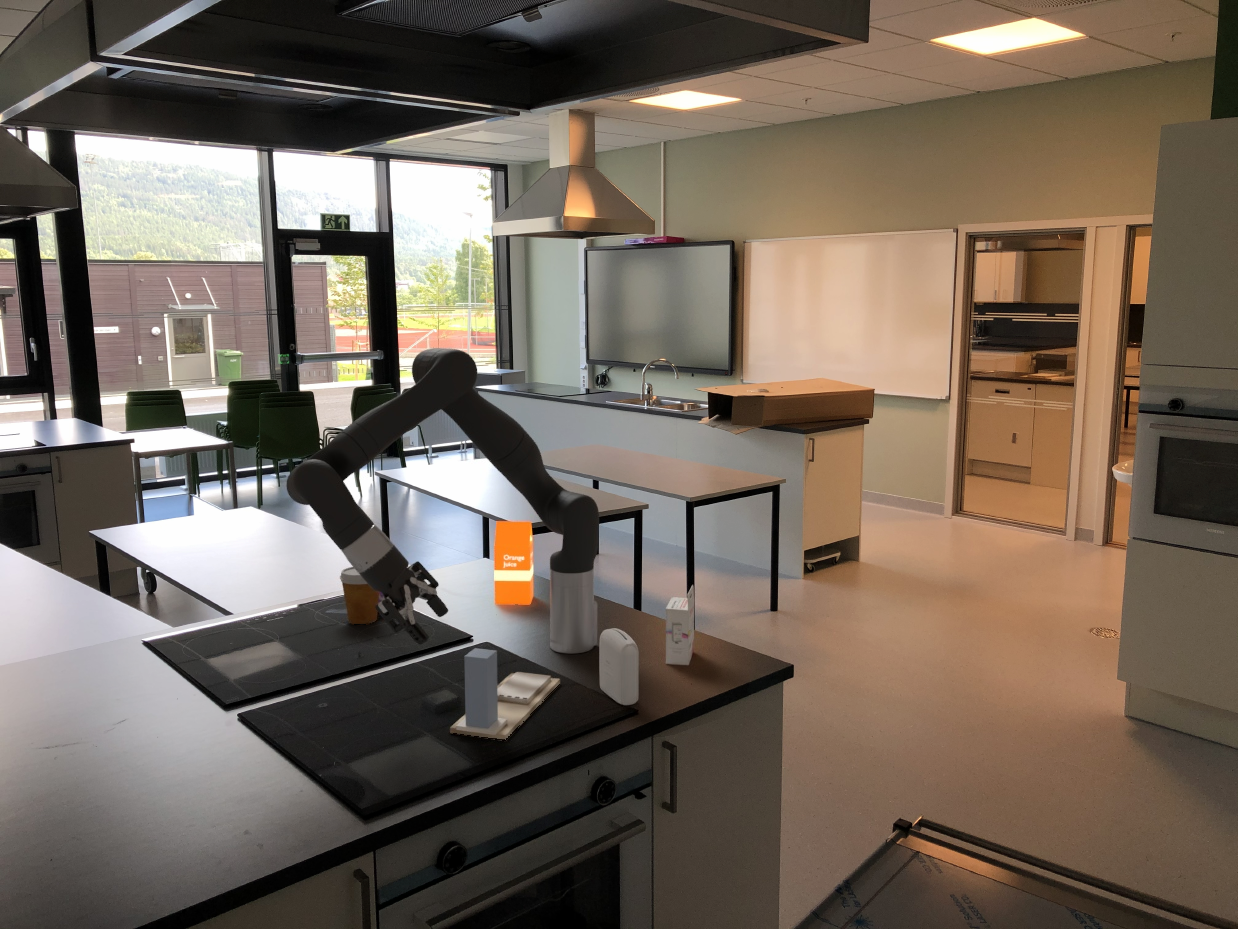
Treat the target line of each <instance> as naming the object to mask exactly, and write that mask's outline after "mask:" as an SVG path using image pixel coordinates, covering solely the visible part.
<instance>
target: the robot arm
mask: <svg viewBox="0 0 1238 929" xmlns="http://www.w3.org/2000/svg"><path fill="white" fill-rule="evenodd" d="M411 375H412V379H413V381H414V383H415V384H414V385H413V386H411V387H409V388H408V389H406V390H405V391H404V392H403V393H401V394H399V395H397V396H396V397H393V398H391V400H389V401H386V402H384V403H383V404H380V405H378V406H376V407H374V408H372V409H371V410H369V411H367V412H366V413H364V414H362V415H360V417H358V418H357V419H356V420H353V422H351V423H350V424H348V426H347V427H345V428H344V429H342V431H340V432H339V433H338V434H337V435H335V436H334V437H333V438H332V439H331V441H329V442H328V444H326V445H325V446H324V447H322V448H320V450H318V451H317V452H315V453H314V454H313V455H311V456H310V457H308V458H307V459H306V460H304V461H303V462H301V463H300V464H298V465H297V466H296V467H295V468H293V469H292V470H291V471H290V473H289V475H288V476H287V479H286V485H285V486H286V491H287V492H286V493H287V494H288V496H289V497H290V498H291V499H292V501H294V502H295V503H297V504H299V505H303V506H309V507H310V508H311V509H312V510H313V512H314V513H315V514H316V515H317V517H318V518H319V519H320V520H321V523H322V528H323V530H324V531H325V533H326V534H327V535H328V537H329V538H330V539H331V540H332V542H333V543H334V544H335V545H336V546H337V547H338V549H340V551H341V553H343V555H344V557H345V559H346V560H347V562H349V564H350V565H351V567H354V568H355V570H356V571H357V572H358V573H359V574H360V575H361V576H362V578H363V579H364V580H365V581H366V582H367V583H368V585H369V586H370V587H371V588H372V589H373V590H374V591H379V592H381V593H382V594H383V596H384V600H383V601H381V602H380V603H378V604H376V605H375V608H376V610H377V611H378V613H379V615H380V616H381V617H382V619H383V620H384V621H385V622H386V624H387V625H388V627H390V629H391V630H392V632H394V633H395V634H398V633H400V632H402V631H405V632H407V634H408V635H409V636H410V638H412V640H413V641H414V642H415V643H416V644H418V645H422V644H425V643H426V642H428V640H429V639H430V635H429V634H428V633H427V632H426V631H425V630H424V628H422V626H421V625H420V624H419V623H418V622H417V621H416V620H415V617H414V613H413V611H414V603H415V601H416V599H417V598H418V599H422V600H423V601H426V604H427V605H428V606H429V607H430V609H431V610H432V611H433V612H434V613H435V615H436V616H437V617H438V618H442V617H443V616H445V615H447V613H448V612H449V608H448V607H447V605H446V604H445V603H444V601H442V599H441V597H439V595H438V591H437V588H438V587H439V585H440V584H439V582H438V580H436V579H435V578H434V576H433V575H432V574H431V573H430V572H429V571H428V569H426V567H424V565H423V564H422V563H421V562H420V561H419V560H418V561H415V562H414V563H411V564H410V565H409V561H408V560H407V558H406V557H405V556H404V555H403V553H402V552H401V551H400V550H399V549H398V548H397V547H396V545H395V544H394V543H393V542H392V541H391V539H390V538H389V537H388V536H387V535H386V533H385V532H384V531H382V529H380V528H379V527H378V526H377V524H375V522H374V521H373V520H372V519H371V518H370V517H369V516H368V515H367V513H366V512H365V511H364V510H363V509H362V507H360V506H359V505H358V503H357V501H356V500H355V499H354V496H353V495H352V493H351V492H350V490H349V488H348V486H347V485H346V483H345V482H344V481H345V480H347V479H348V478H349V477H350V476H351V475H353V474H354V473H356V472H359V471H360V470H361V469H362V468H364V467H365V466H367V465H368V464H369V463H370V462H371V461H373V460H374V459H375V458H377V457H378V456H379V455H380V454H381V453H382V452H384V451H385V450H386V449H388V447H390V446H391V445H392V444H393V443H394V442H396V441H397V440H398V439H400V438H401V437H402V436H403V435H405V434H406V433H408V432H409V431H410V430H412V429H414V428H415V427H416V426H417V425H419V424H420V423H422V422H424V421H425V420H427V419H428V418H430V417H431V416H432V415H434V414H436V413H437V412H439V411H440V410H442V411H443V412H444V413H445V414H446V415H447V416H448V417H449V418H450V419H451V420H453V421H454V423H455V424H456V425H457V426H458V427H459V428H460V429H461V431H462V432H463V433H464V434H465V436H466V437H468V439H470V441H471V442H472V443H473V445H475V446H476V448H477V449H478V450H479V451H480V452H481V453H482V455H483V456H484V457H485V458H486V459H487V461H488V462H489V463H490V464H491V465H492V466H493V467H494V468H495V469H496V470H497V471H498V472H499V473H500V474H501V475H502V476H503V477H504V478H505V479H506V480H507V481H508V482H509V484H511V486H513V487H514V488H515V489H516V490H517V491H518V492H519V493H520V494H521V495H522V497H524V499H525V500H527V503H528V504H529V505H530V506H531V508H532V509H533V510H534V512H535V513H536V514H537V516H538V518H539V519H540V520H541V521H542V523H543V524H544V526H545V527H546V528H547V529H548V530H550V531H551V532H553V533H555V534H558V535H561V536H562V546H561V550H558V551H555V552H553V553H552V554H551V555H550V557H549V605H550V606H549V610H550V611H549V621H550V622H549V624H550V626H549V627H550V628H549V637H550V638H549V642H550V643H549V647H550V649H551V650H552V651H554V652H557V653H561V654H581V653H586V652H589V651H590V650H592V649H593V648H594V647H595V646H598V602H597V601H596V600H595V598H594V596H595V594H594V593H595V589H594V588H595V586H594V585H595V582H594V581H595V578H594V577H595V575H594V574H595V564H594V563H595V559H596V557H597V554H598V549H599V548H598V547H599V534H600V533H599V531H600V530H599V529H600V511H599V507H598V505H597V502H596V501H595V499H594V498H593V497H591V496H590V495H587V494H584V493H583V494H582V493H578V492H575V491H569V490H567V489H566V488H564V487H562V485H561V484H559V483H558V482H557V481H556V480H555V479H554V478H553V476H551V474H549V472H548V471H547V469H546V467H545V464H544V461H543V457H542V453H541V450H540V449H539V446H538V445H537V442H535V440H534V439H533V438H532V436H530V434H529V433H528V432H527V431H526V430H525V429H524V428H523V426H522V425H521V424H520V423H519V422H518V421H517V420H515V419H514V418H513V417H512V416H511V415H509V413H506V412H505V411H503V410H502V409H501V408H499V407H498V406H496V405H495V404H493V403H492V402H490V401H489V400H487V399H486V398H484V397H483V396H482V395H480V393H479V392H478V391H476V389H475V388H474V387H475V384H476V382H477V379H478V368H477V363H476V361H475V360H474V358H473V357H472V356H471V355H470V354H469V353H467V352H466V351H463V350H461V349H458V348H457V349H456V348H444V347H443V348H442V347H434V348H428V349H424V350H423V351H420V352H419V353H418V354H417V355H416V356H415V357H414V359H413V361H412V365H411ZM426 581H428V583H427V582H426ZM397 623H398V624H397Z"/></svg>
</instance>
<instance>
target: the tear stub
mask: <svg viewBox="0 0 1238 929" xmlns="http://www.w3.org/2000/svg"><path fill="white" fill-rule="evenodd" d="M463 658H464V659H463V660H464V700H465V703H464V705H465V706H464V709H465V713H464V715H465V714H466V717H465V718H464V719H463V720H462V721H461V722H460V723H459V724H458V725H456V730H462V731H469V732H476V733H483V734H490V735H496V734H497V733H498V732H499V731H500V730H501V729H502V728H503V727H504V726H505V725H506V724H507V719H503V718H498V693H497V686H498V650H496V649H485V648H478V647H477V648H476V647H474V648H473V649H472V650H470V651H469V652H468V653H467V654H466V655H464V656H463Z"/></svg>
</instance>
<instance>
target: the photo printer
mask: <svg viewBox="0 0 1238 929" xmlns="http://www.w3.org/2000/svg"><path fill="white" fill-rule="evenodd" d="M598 650H599V654H598V655H599V663H598V664H599V668H598V669H599V674H598V675H599V687H600V689H601V691H602V692H604V693H605V695H607V696H608V697H609V698H610V699H613V700H614V701H615V702H616V703H617V704H620V705H623V706H630V705H634V704H636V703H637V702H638V701H639V648H638V645H637V643H636V642H635V640H633V638H632V637H631V636H630V635H629V634H628V633H626V632H625V630H622V629H619V628H607V629H604V630H602V632H601V634H600V636H599V648H598Z"/></svg>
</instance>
